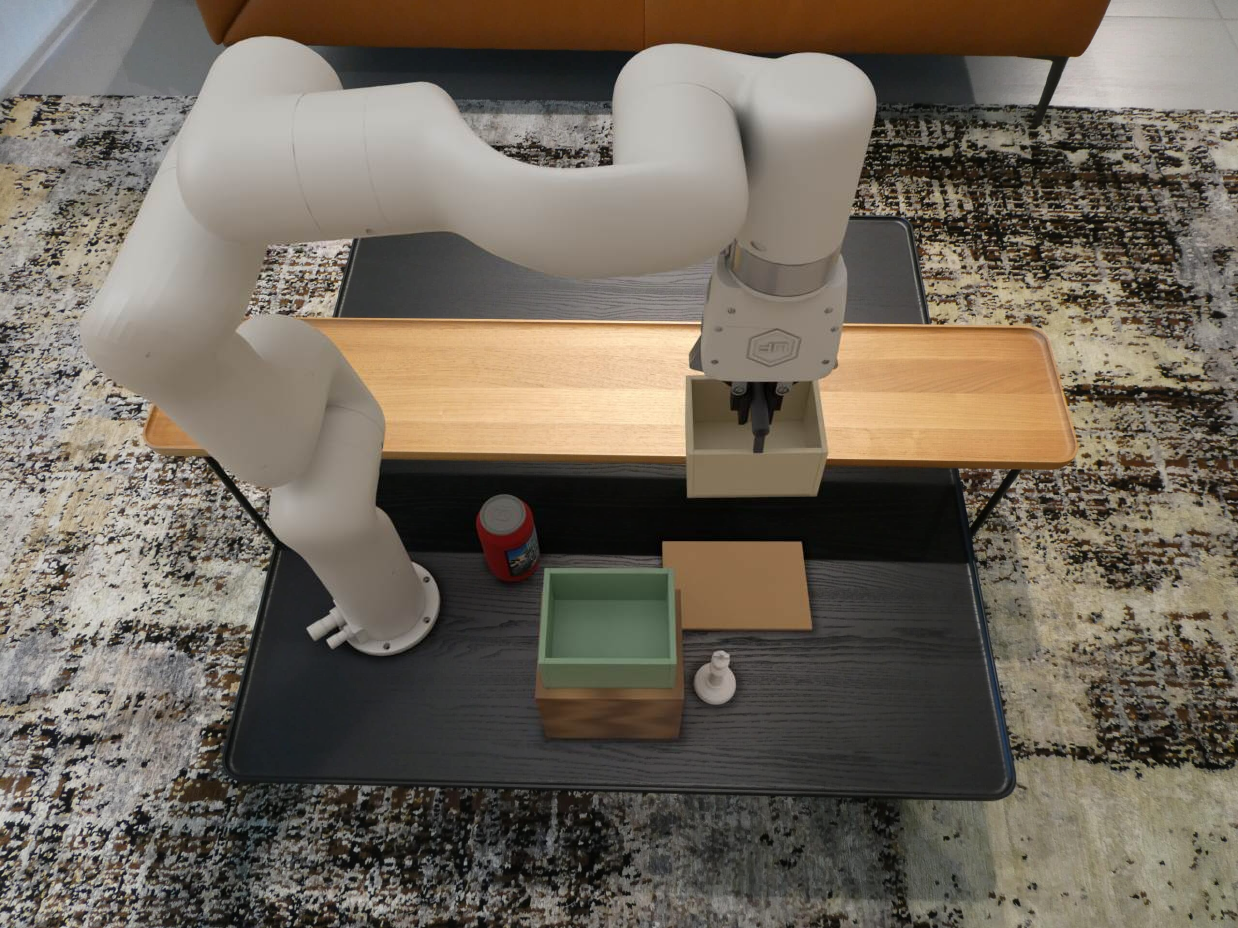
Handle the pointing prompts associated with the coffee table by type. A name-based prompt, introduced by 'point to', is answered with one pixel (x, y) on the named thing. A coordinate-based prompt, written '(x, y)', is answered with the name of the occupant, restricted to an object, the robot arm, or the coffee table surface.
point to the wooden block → (614, 705)
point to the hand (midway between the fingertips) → (753, 410)
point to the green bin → (608, 628)
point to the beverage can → (508, 537)
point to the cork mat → (740, 585)
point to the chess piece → (715, 680)
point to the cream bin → (753, 442)
